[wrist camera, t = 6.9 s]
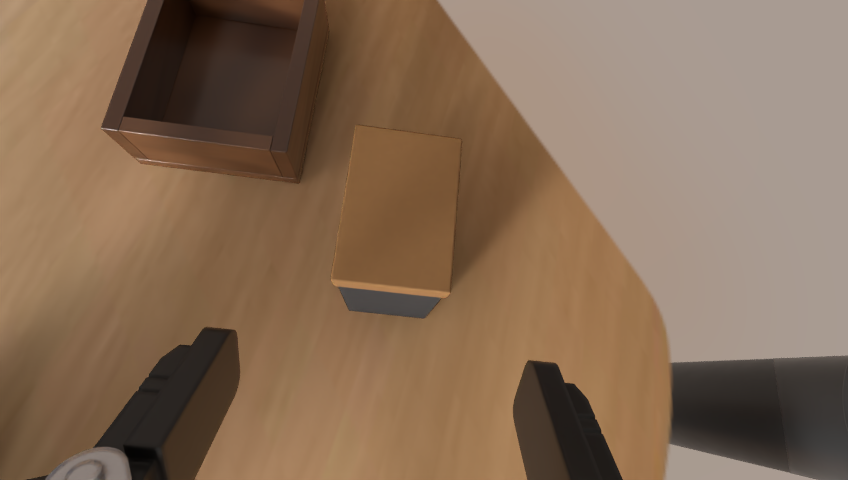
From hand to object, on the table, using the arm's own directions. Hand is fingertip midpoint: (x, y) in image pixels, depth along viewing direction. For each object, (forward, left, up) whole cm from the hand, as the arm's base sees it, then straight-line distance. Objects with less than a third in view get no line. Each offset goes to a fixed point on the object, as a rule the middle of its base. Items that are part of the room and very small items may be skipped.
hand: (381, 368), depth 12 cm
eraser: (0, -6, -10) cm, 12 cm away
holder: (+10, -15, -10) cm, 21 cm away
